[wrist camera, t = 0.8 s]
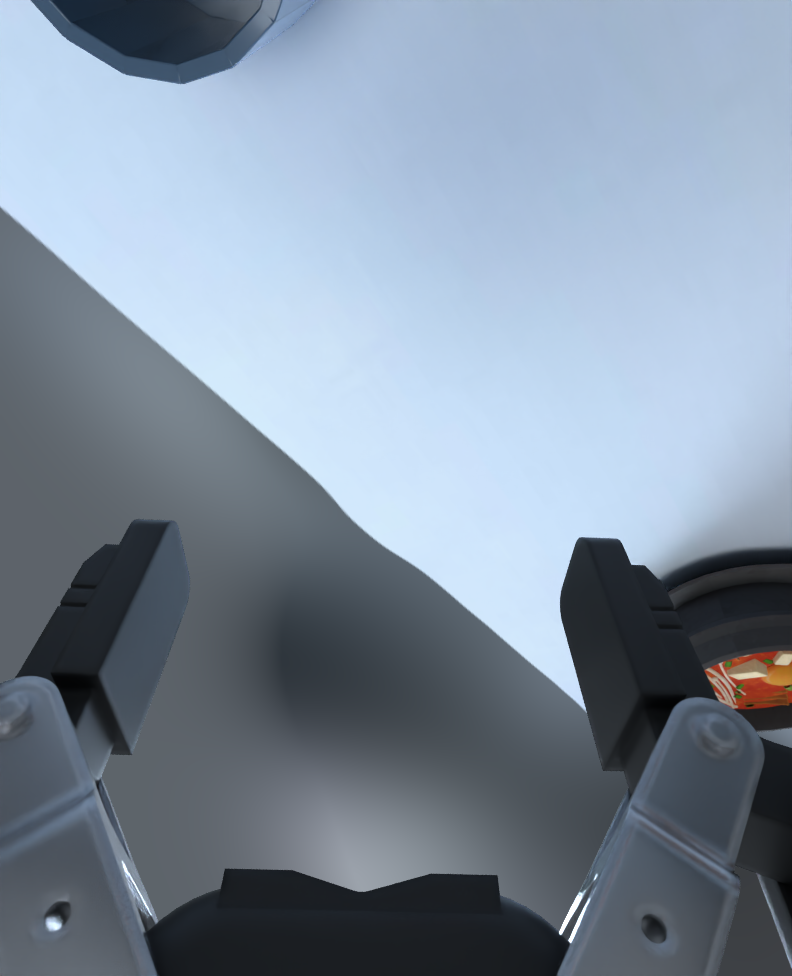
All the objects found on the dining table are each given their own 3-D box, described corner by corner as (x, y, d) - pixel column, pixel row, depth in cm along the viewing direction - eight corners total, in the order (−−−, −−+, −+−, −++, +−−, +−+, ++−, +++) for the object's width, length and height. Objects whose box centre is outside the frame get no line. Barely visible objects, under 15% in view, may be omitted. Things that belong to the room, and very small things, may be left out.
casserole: (644, 685, 68) (662, 762, 62) (566, 601, 58) (577, 682, 52) (911, 620, 56) (965, 707, 50) (868, 500, 46) (928, 590, 40)
